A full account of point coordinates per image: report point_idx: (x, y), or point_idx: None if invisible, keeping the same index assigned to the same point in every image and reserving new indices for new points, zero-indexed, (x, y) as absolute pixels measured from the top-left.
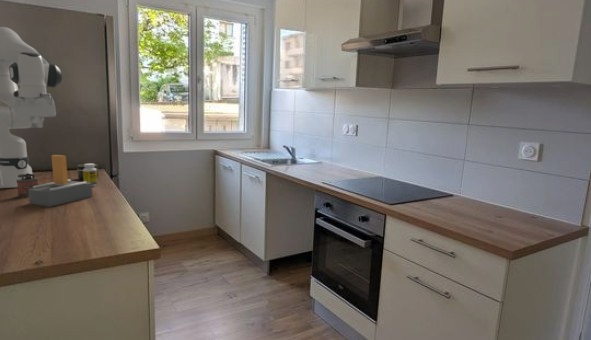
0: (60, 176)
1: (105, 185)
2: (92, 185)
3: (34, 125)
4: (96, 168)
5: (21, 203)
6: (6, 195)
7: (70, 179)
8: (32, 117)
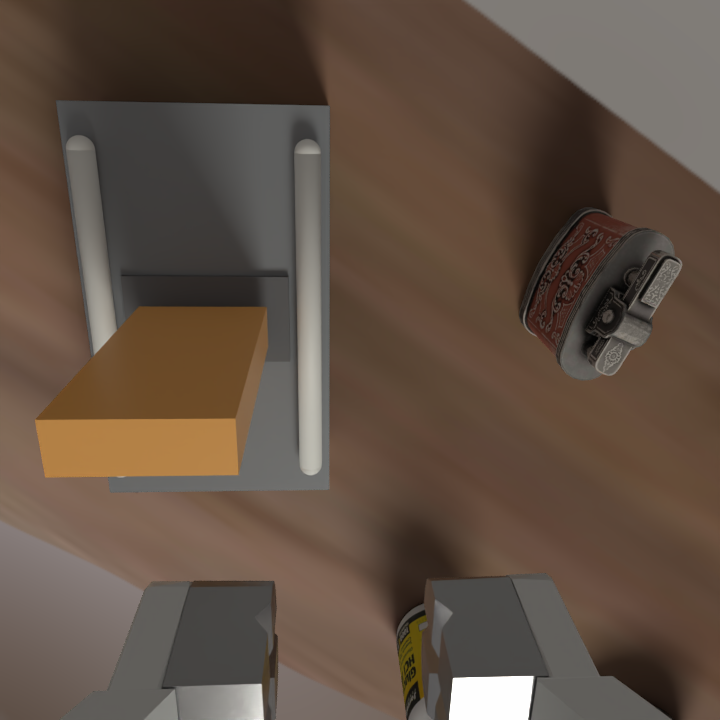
0: (156, 328)
1: (351, 668)
2: (401, 623)
3: (441, 646)
4: None
5: (385, 79)
6: (714, 196)
7: (303, 470)
8: None
